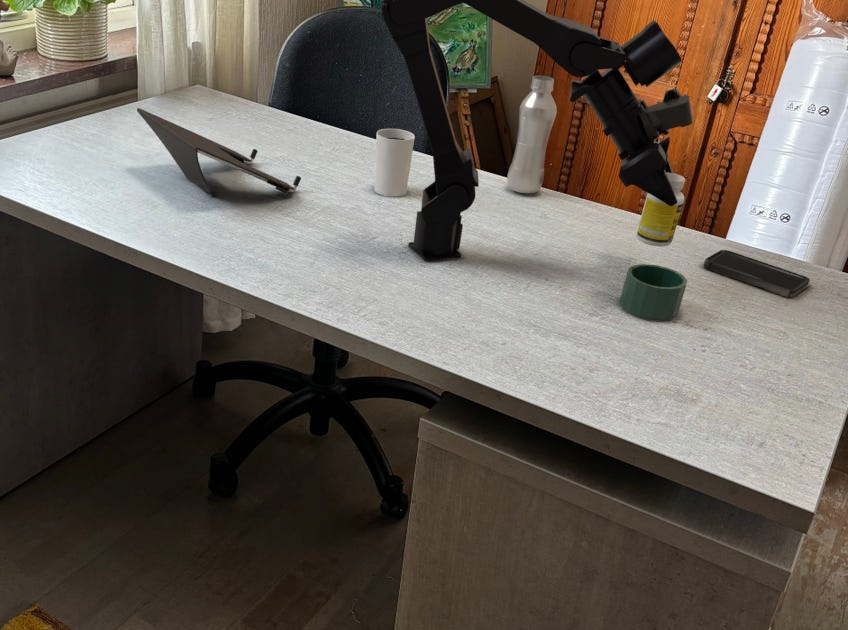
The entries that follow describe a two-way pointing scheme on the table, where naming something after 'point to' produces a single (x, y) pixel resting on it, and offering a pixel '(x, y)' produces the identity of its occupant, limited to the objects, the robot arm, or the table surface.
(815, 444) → the table surface
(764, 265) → the phone
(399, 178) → the white cup
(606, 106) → the robot arm
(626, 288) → the crock
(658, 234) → the supplement bottle
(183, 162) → the laptop stand
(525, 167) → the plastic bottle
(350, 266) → the table surface
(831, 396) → the table surface
